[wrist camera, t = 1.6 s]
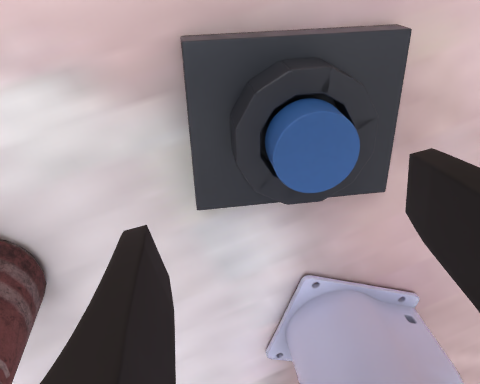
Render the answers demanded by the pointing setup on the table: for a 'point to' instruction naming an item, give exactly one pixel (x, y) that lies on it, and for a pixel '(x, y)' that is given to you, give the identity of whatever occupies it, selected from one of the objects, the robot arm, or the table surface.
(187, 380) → the table surface
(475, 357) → the table surface
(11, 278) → the can
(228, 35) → the button base
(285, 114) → the blue button cap
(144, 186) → the table surface
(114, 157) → the table surface
